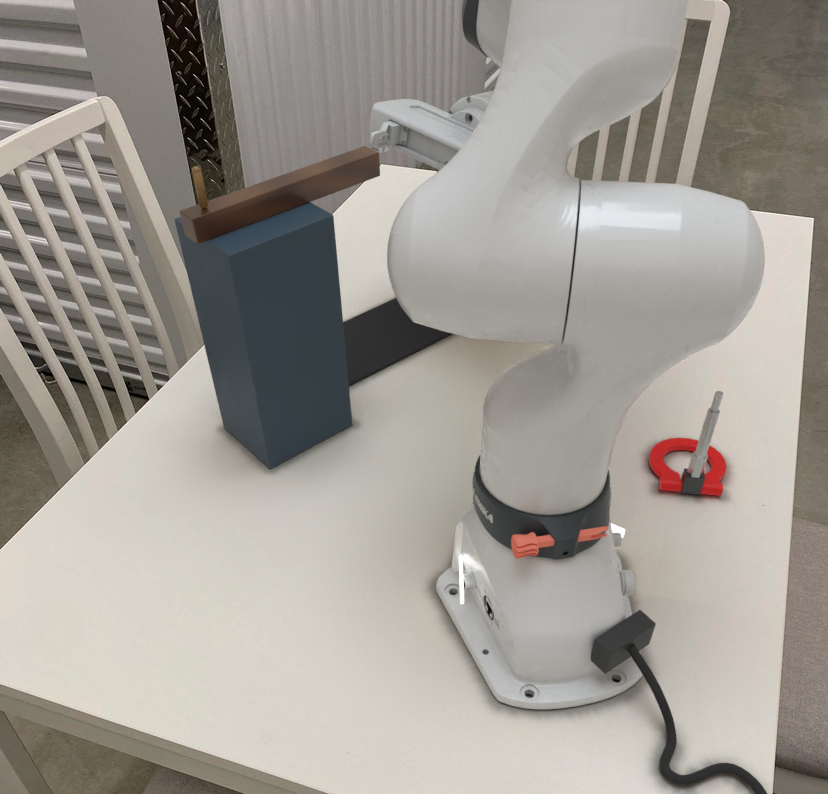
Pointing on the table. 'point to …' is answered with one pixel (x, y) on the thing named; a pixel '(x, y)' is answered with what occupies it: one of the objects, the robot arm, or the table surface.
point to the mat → (383, 339)
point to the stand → (274, 330)
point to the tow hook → (692, 460)
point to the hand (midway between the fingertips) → (407, 159)
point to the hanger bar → (275, 194)
